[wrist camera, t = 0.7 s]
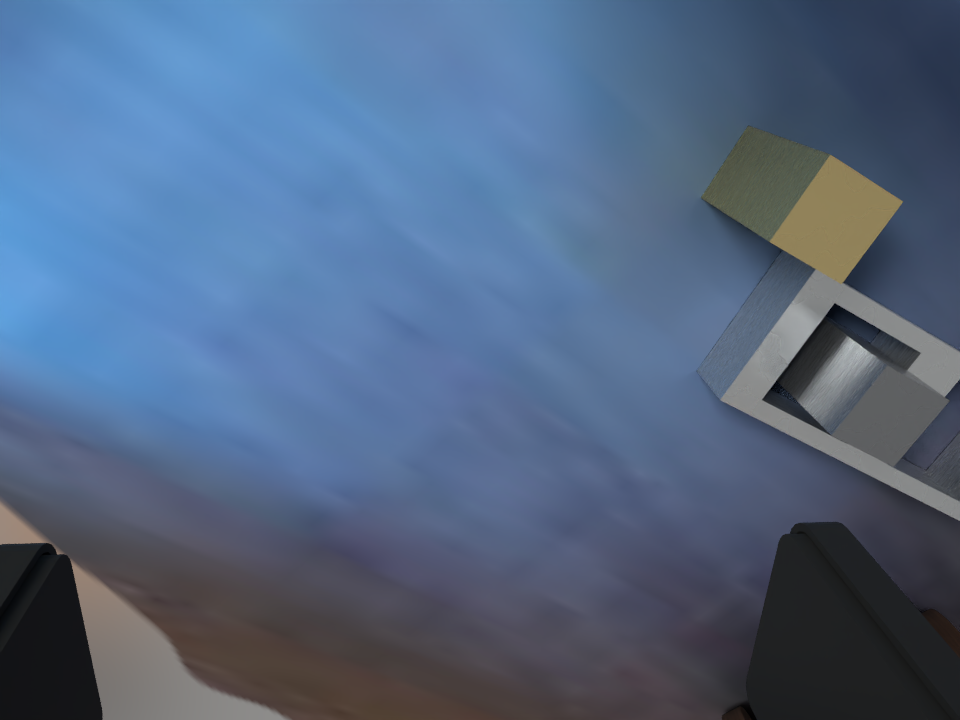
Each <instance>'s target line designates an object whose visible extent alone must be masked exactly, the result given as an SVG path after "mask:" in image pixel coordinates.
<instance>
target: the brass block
mask: <svg viewBox="0 0 960 720" xmlns="http://www.w3.org/2000/svg"><path fill="white" fill-rule="evenodd" d="M701 198H702V199H703V200H705V201H707V202H708V203H710V204H711V205H713V206H714V207H716V208H717V209H719V210H721V211H722V212H724V213H725V214H727V215H728V216H730V217H731V218H733V219H735V220H736V221H738V222H739V223H741V224H742V225H744V226H745V227H747V228H749V229H750V230H752V231H753V232H755V233H756V234H758V235H759V236H761V237H763V238H764V239H766V240H767V241H769V242H770V243H772V244H774V245H776V246H777V247H779V248H781V249H782V250H784V251H786V252H787V253H789V254H791V255H793V256H794V257H796V258H798V259H799V260H801V261H803V262H804V263H806V264H808V265H810V266H811V267H813V268H815V269H816V270H818V271H820V272H821V273H823V274H825V275H827V276H828V277H830V278H832V279H833V280H835V281H837V282H838V283H840V284H842V283H843V282H844V280H845V279H846V278H847V276H848V275H849V274H850V272H851V271H852V270H853V268H854V267H855V266H856V264H857V263H858V262H859V260H860V259H861V258H862V256H863V255H864V254H865V252H866V251H867V250H868V248H869V247H870V246H871V244H872V243H873V242H874V240H875V239H876V238H877V236H878V235H879V233H880V232H881V231H882V229H883V228H884V227H885V225H886V224H887V223H888V221H889V220H890V219H891V217H892V216H893V215H894V213H895V212H896V211H897V209H898V208H899V207H900V205H901V204H902V203H903V201H901V200H900V199H898V198H897V197H895V196H894V195H892V194H891V193H889V192H887V191H886V190H884V189H883V188H881V187H880V186H878V185H877V184H875V183H874V182H872V181H870V180H869V179H867V178H866V177H864V176H863V175H861V174H860V173H858V172H857V171H855V170H853V169H852V168H850V167H849V166H847V165H846V164H844V163H843V162H841V161H840V160H838V159H836V158H835V157H833V156H832V155H830V154H827V153H824V152H822V151H819V150H816V149H813V148H810V147H807V146H805V145H802V144H799V143H796V142H793V141H790V140H788V139H785V138H782V137H779V136H776V135H773V134H771V133H768V132H765V131H762V130H759V129H756V128H753V127H751V126H748V127H747V128H746V130H745V131H744V133H743V134H742V136H741V137H740V139H739V140H738V142H737V144H736V145H735V147H734V148H733V150H732V151H731V153H730V154H729V156H728V157H727V159H726V160H725V162H724V163H723V165H722V166H721V168H720V170H719V171H718V173H717V174H716V176H715V177H714V179H713V180H712V182H711V183H710V185H709V186H708V188H707V189H706V191H705V192H704V194H703V196H702V197H701Z"/></svg>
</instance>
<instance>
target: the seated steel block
mask: <svg viewBox="0 0 960 720" xmlns="http://www.w3.org/2000/svg"><path fill="white" fill-rule="evenodd" d="M776 381H777V382H778V383H779V384H780V385H781V386H782V387H783V388H784V389H785V390H786V391H787V392H788V393H789V394H790V395H791V396H792V397H793V398H794V399H796V400H797V401H798V402H799V403H800V404H801V405H802V406H803V407H804V408H805V409H806V410H807V411H808V412H809V413H810V414H811V415H812V416H813V417H814V418H815V419H816V420H817V421H818V422H819V423H820V424H821V425H822V426H823V427H824V428H825V429H826V430H827V431H828V432H829V433H830V434H831V435H832V436H834V437H836V438H838V439H840V440H842V441H843V442H845V443H847V444H849V445H851V446H853V447H855V448H857V449H859V450H861V451H863V452H865V453H867V454H869V455H871V456H873V457H875V458H877V459H879V460H880V461H882V462H884V463H886V464H888V465H890V466H892V467H894V466H895V465H896V464H897V462H898V461H899V460H900V459H901V458H902V457H903V455H904V454H905V453H906V452H907V451H908V449H909V448H910V447H911V446H912V445H913V444H914V442H915V441H916V440H917V439H918V438H919V436H920V435H921V434H922V433H923V432H924V431H925V429H926V428H927V427H928V426H929V425H930V423H931V422H932V421H933V420H934V419H935V418H936V416H937V415H938V414H939V413H940V412H941V411H942V409H943V408H944V407H945V406H946V405H947V403H948V402H949V400H948V399H947V398H945V397H944V396H943V395H941V394H940V393H938V392H937V391H936V390H934V389H933V388H931V387H930V386H929V385H927V384H926V383H925V382H923V381H922V380H920V379H919V378H918V377H916V376H915V375H913V374H912V373H911V372H909V371H908V370H907V369H905V368H904V367H902V366H901V365H900V364H898V363H897V362H895V361H894V360H893V359H891V358H890V357H888V356H887V355H886V354H884V353H883V352H882V351H880V350H879V349H877V348H876V347H875V346H873V345H872V344H870V343H869V342H868V341H866V340H865V339H864V338H862V337H861V336H859V335H858V334H856V333H854V332H853V331H851V330H849V329H847V328H846V327H844V326H842V325H840V324H839V323H837V322H835V321H833V320H832V319H830V318H828V317H826V316H824V318H823V319H822V320H821V322H820V323H819V324H818V326H817V327H816V328H815V330H814V331H813V332H812V334H811V335H810V336H809V338H808V339H807V340H806V342H805V343H804V344H803V346H802V347H801V348H800V350H799V351H798V352H797V354H796V355H795V356H794V358H793V359H792V360H791V362H790V363H789V364H788V366H787V367H786V368H785V370H784V371H783V372H782V374H781V375H780V376H779V378H778V379H777V380H776Z"/></svg>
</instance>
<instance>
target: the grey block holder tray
mask: <svg viewBox="0 0 960 720" xmlns="http://www.w3.org/2000/svg"><path fill="white" fill-rule="evenodd" d="M834 303H836V304H837V305H839V306H841V307H842V308H844V309H846V310H848V311H849V312H851V313H853V314H855V315H856V316H858V317H860V318H861V319H863V320H865V321H867V322H868V323H870V324H872V325H874V326H875V327H877V328H879V329H881V331H880V332H879V333H878V335H877V336H876V337H875V339H874V340H873V341H872V342H871V344H872V345H873V346H875V347H876V348H877V349H879V350H880V351H882V352H883V353H884V354H886V355H887V356H888V357H890V358H891V359H893V360H894V361H895V362H897V363H898V364H900V365H901V366H902V367H904V368H905V369H907V370H908V371H909V372H911V373H912V374H913V375H915V376H916V377H918V378H919V379H920V380H922V381H923V382H925V383H926V384H927V385H929V386H930V387H931V388H933V389H934V390H936V391H937V392H938V393H940V394H941V395H943V396H944V397H945V396H946V395H947V394H948V393H949V391H950V390H951V389H952V388H953V387H954V385H955V384H956V383H957V382H958V381H959V380H960V351H959V350H958V349H956V348H954V347H953V346H951V345H949V344H947V343H946V342H944V341H942V340H941V339H939V338H937V337H936V336H934V335H932V334H931V333H929V332H927V331H925V330H924V329H922V328H920V327H919V326H917V325H915V324H914V323H912V322H910V321H909V320H907V319H905V318H903V317H902V316H900V315H898V314H897V313H895V312H893V311H892V310H890V309H888V308H887V307H885V306H883V305H881V304H880V303H878V302H876V301H875V300H873V299H871V298H870V297H868V296H866V295H865V294H863V293H861V292H859V291H858V290H856V289H854V288H853V287H851V286H849V285H848V284H846V283H844V282H843V283H842V284H840V283H838V282H837V281H835V280H833V279H832V278H830V277H828V276H827V275H825V274H823V273H821V272H820V271H818V270H816V269H815V268H813V267H811V266H810V265H808V264H806V263H804V262H803V261H801V260H799V259H798V258H796V257H794V256H793V255H791V254H789V253H787V252H786V251H784V250H782V251H781V253H780V254H779V256H778V257H777V258H776V260H775V261H774V263H773V264H772V265H771V267H770V268H769V270H768V271H767V273H766V274H765V275H764V277H763V278H762V280H761V281H760V282H759V284H758V285H757V287H756V288H755V289H754V291H753V292H752V294H751V295H750V297H749V298H748V299H747V301H746V302H745V304H744V305H743V306H742V308H741V309H740V311H739V312H738V313H737V315H736V316H735V318H734V319H733V320H732V322H731V323H730V325H729V326H728V328H727V329H726V330H725V332H724V333H723V335H722V336H721V337H720V339H719V340H718V342H717V343H716V344H715V346H714V347H713V349H712V350H711V351H710V353H709V354H708V356H707V357H706V359H705V360H704V361H703V363H702V364H701V366H700V367H699V368H698V370H697V372H698V374H699V375H700V376H701V377H702V378H703V380H704V381H705V382H706V383H707V385H708V386H709V387H710V388H711V390H712V391H713V392H714V393H715V395H716V396H717V397H718V398H719V399H720V400H721V401H723V402H725V403H727V404H729V405H731V406H733V407H735V408H737V409H739V410H741V411H743V412H745V413H747V414H749V415H751V416H753V417H754V418H756V419H758V420H760V421H762V422H764V423H766V424H768V425H770V426H772V427H774V428H776V429H778V430H780V431H782V432H784V433H786V434H788V435H790V436H792V437H794V438H796V439H798V440H800V441H802V442H804V443H806V444H808V445H810V446H812V447H814V448H816V449H818V450H820V451H822V452H824V453H826V454H828V455H830V456H832V457H834V458H836V459H838V460H840V461H842V462H844V463H846V464H848V465H850V466H852V467H854V468H856V469H858V470H860V471H862V472H864V473H866V474H868V475H870V476H872V477H874V478H876V479H877V480H879V481H881V482H883V483H885V484H887V485H889V486H891V487H893V488H895V489H897V490H899V491H901V492H903V493H905V494H907V495H909V496H911V497H913V498H915V499H917V500H919V501H921V502H923V503H925V504H927V505H929V506H931V507H933V508H935V509H937V510H939V511H941V512H943V513H945V514H947V515H949V516H951V517H953V518H955V519H957V520H959V521H960V432H959V434H958V435H957V436H956V437H955V438H954V439H953V440H952V442H951V443H950V444H949V445H948V446H947V447H946V448H945V450H944V451H943V452H942V453H941V454H940V455H939V457H938V458H937V459H936V460H935V461H934V462H933V463H932V465H931V466H930V467H929V468H928V469H927V470H924V469H922V468H920V467H918V466H916V465H914V464H913V463H911V462H909V461H907V460H905V459H903V458H901V459H900V460H899V461H898V462H897V464H896V465H895V466H894V467H892V466H890V465H888V464H886V463H884V462H882V461H880V460H879V459H877V458H875V457H873V456H871V455H869V454H867V453H865V452H863V451H861V450H859V449H857V448H855V447H853V446H851V445H849V444H847V443H845V442H843V441H842V440H840V439H838V438H836V437H834V436H832V435H831V434H830V433H829V432H828V431H827V430H826V429H825V428H824V427H823V426H822V425H821V424H820V423H819V422H818V421H817V420H816V419H815V418H814V417H813V416H812V415H811V414H810V413H809V412H808V411H807V410H806V409H805V408H804V407H803V406H801V405H799V404H797V403H795V402H793V401H792V400H790V399H788V398H786V397H784V396H782V395H780V394H778V393H776V392H774V391H772V390H770V388H771V387H772V386H773V384H774V383H775V382H776V380H777V379H778V378H779V376H780V375H781V374H782V372H783V371H784V370H785V368H786V367H787V366H788V364H789V363H790V362H791V360H792V359H793V358H794V356H795V355H796V354H797V352H798V351H799V350H800V348H801V347H802V346H803V344H804V343H805V342H806V340H807V339H808V338H809V336H810V335H811V334H812V332H813V331H814V330H815V328H816V327H817V326H818V324H819V323H820V322H821V320H822V319H823V318H824V316H825V315H826V314H827V313H828V311H829V310H830V309H831V307H832V306H833V305H834Z"/></svg>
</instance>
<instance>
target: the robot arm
mask: <svg viewBox="0 0 960 720" xmlns="http://www.w3.org/2000/svg"><path fill="white" fill-rule="evenodd" d="M746 690H747V696H748V700H749V704H750V706H751V708H752V711H753V713H754V714H755V716H756V718H757V720H960V658H959V657H958V655H957V654H956V653H955V652H954V651H953V650H952V649H951V647H950V646H949V645H948V644H947V643H946V642H945V640H944V639H943V638H942V637H941V636H940V635H939V634H938V632H937V631H936V630H935V629H934V628H933V627H932V625H931V624H930V623H929V622H928V621H927V620H926V619H925V617H924V616H923V615H922V614H921V613H920V612H919V611H918V609H917V608H916V607H915V606H914V605H913V604H912V602H911V601H910V600H909V599H908V598H907V597H906V596H905V594H904V593H903V592H902V591H901V590H900V589H899V587H898V586H897V585H896V584H895V583H894V582H893V581H892V579H891V578H890V577H889V576H888V575H887V574H886V572H885V571H884V570H883V569H882V568H881V567H880V566H879V564H878V563H877V562H876V561H875V560H874V559H873V557H872V556H871V555H870V554H869V553H868V552H867V551H866V549H865V548H864V547H863V546H862V545H861V544H860V542H859V541H858V540H857V539H856V538H855V537H854V536H853V534H852V533H851V532H850V531H849V530H848V529H847V528H846V527H845V526H844V525H843V524H842V523H838V522H816V523H798V524H795V525H794V527H793V528H792V529H791V532H790V534H785V535H783V536H782V537H781V538H780V541H779V544H778V548H777V552H776V556H775V560H774V565H773V569H772V573H771V577H770V582H769V586H768V590H767V594H766V599H765V603H764V607H763V611H762V616H761V620H760V624H759V628H758V633H757V637H756V641H755V645H754V650H753V654H752V658H751V662H750V666H749V671H748V675H747V681H746ZM0 720H102V707H101V702H100V697H99V693H98V688H97V683H96V678H95V674H94V669H93V665H92V659H91V655H90V651H89V645H88V640H87V636H86V631H85V626H84V621H83V617H82V612H81V607H80V603H79V598H78V593H77V588H76V583H75V579H74V574H73V569H72V564H71V561H70V559H69V557H68V556H67V555H64V554H60V555H57V553H56V550H55V548H54V547H53V546H52V545H51V544H49V543H31V544H2V545H0Z"/></svg>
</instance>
